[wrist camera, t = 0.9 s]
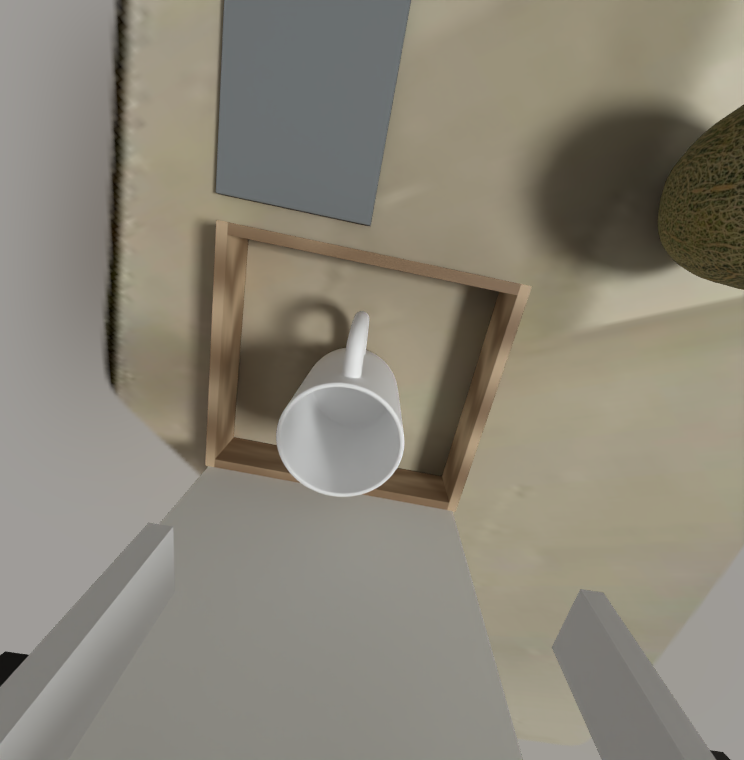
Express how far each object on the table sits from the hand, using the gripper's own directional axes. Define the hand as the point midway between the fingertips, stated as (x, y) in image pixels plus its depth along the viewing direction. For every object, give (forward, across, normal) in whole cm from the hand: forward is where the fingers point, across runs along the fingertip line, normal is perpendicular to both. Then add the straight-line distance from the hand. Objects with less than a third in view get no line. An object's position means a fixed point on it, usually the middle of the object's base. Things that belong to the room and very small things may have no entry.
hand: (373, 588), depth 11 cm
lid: (+21, -3, -11) cm, 24 cm away
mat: (+21, -9, +21) cm, 31 cm away
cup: (+22, -2, 0) cm, 22 cm away
